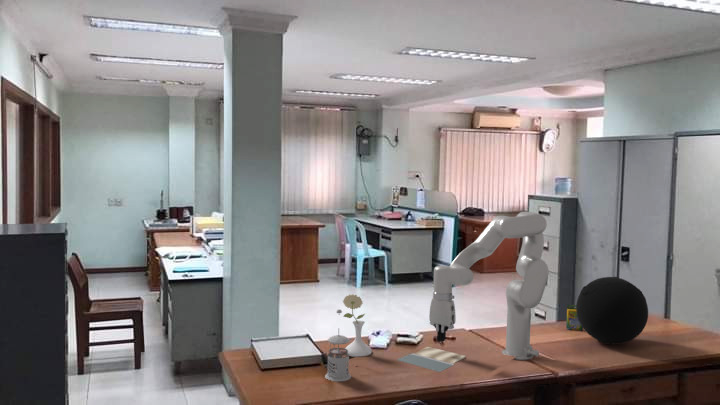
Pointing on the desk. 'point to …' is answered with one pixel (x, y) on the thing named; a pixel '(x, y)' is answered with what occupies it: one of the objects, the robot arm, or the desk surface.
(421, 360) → the grey rectangular panel
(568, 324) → the crayon box
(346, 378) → the french press
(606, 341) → the sphere
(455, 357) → the plank
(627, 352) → the desk surface
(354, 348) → the flower in vase
